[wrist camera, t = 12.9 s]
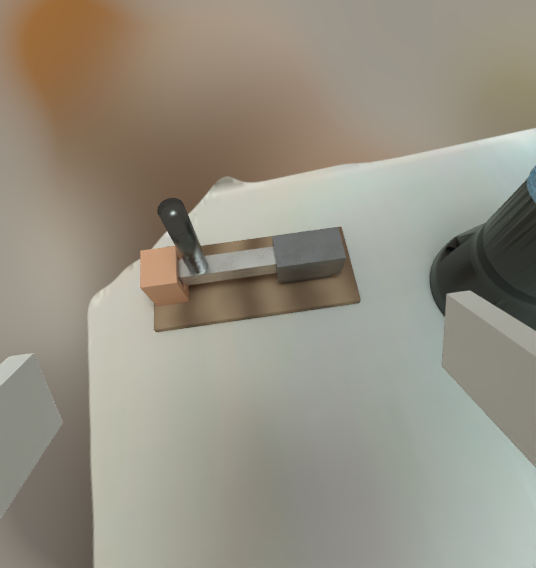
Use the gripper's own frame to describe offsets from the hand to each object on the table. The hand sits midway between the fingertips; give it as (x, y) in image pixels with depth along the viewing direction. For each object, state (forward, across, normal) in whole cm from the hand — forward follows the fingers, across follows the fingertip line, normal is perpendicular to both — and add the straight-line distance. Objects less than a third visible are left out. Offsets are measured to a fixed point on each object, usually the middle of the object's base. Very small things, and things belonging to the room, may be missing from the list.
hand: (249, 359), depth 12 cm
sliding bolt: (+33, -3, -8) cm, 34 cm away
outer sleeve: (+34, +7, -9) cm, 36 cm away
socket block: (+34, -11, -9) cm, 37 cm away
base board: (+35, +1, -10) cm, 36 cm away
